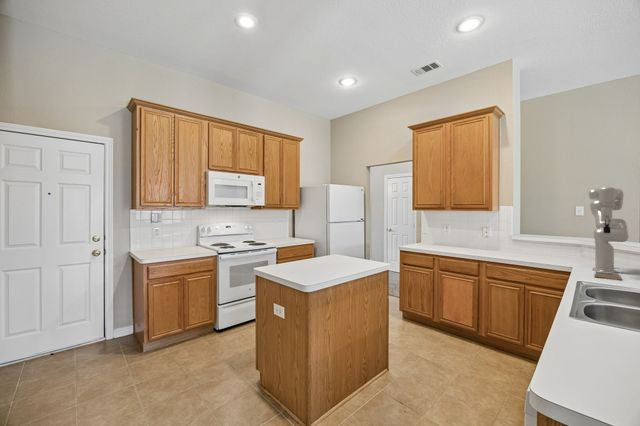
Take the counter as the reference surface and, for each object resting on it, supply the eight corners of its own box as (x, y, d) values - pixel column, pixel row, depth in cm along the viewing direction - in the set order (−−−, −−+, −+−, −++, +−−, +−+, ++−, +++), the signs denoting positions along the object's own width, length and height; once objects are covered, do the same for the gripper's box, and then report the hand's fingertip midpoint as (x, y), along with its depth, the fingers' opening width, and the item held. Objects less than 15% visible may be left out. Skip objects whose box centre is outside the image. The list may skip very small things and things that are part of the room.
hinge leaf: (595, 273, 197) (595, 270, 197) (618, 275, 190) (618, 273, 190) (595, 276, 188) (595, 274, 188) (619, 279, 181) (619, 276, 181)
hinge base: (594, 276, 190) (594, 273, 190) (620, 278, 182) (620, 276, 182) (594, 278, 181) (594, 276, 181) (621, 282, 172) (621, 279, 172)
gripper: (599, 206, 198) (599, 232, 198) (599, 205, 187) (599, 233, 187) (614, 206, 193) (614, 232, 192) (615, 205, 182) (615, 233, 182)
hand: (607, 233), depth 190 cm, fingers closed
